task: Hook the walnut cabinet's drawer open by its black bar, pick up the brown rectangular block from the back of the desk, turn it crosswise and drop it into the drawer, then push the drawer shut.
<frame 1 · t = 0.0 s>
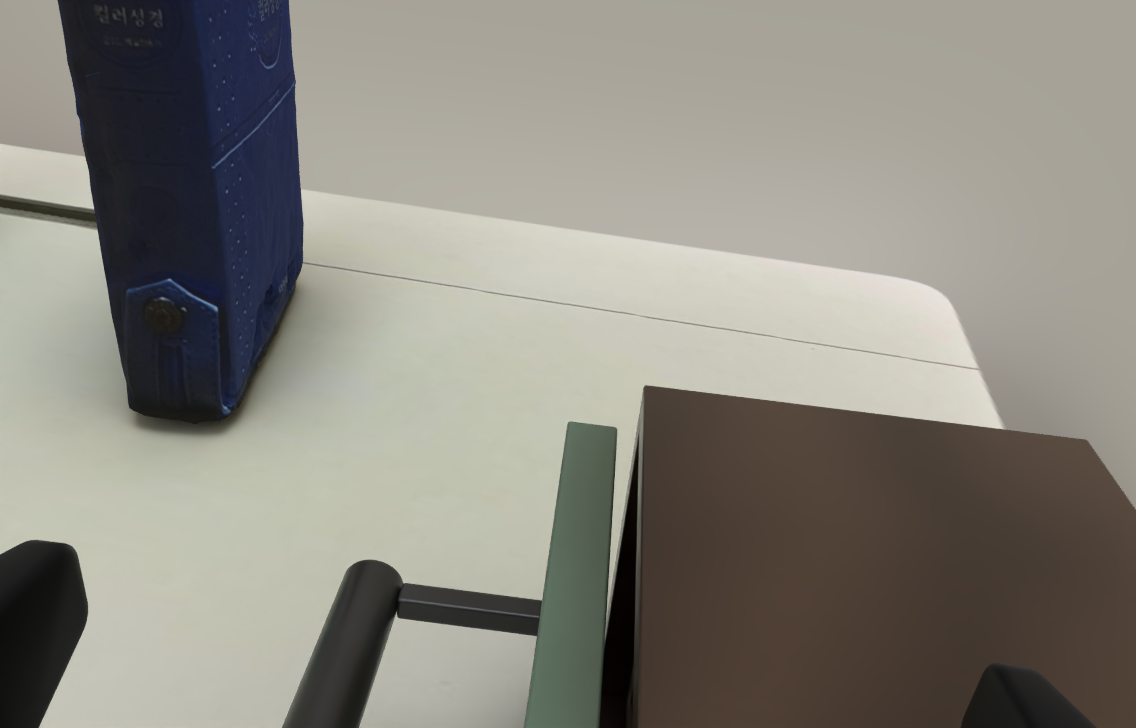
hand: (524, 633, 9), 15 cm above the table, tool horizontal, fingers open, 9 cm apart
blue zippered case: (224, 350, 43), on the table
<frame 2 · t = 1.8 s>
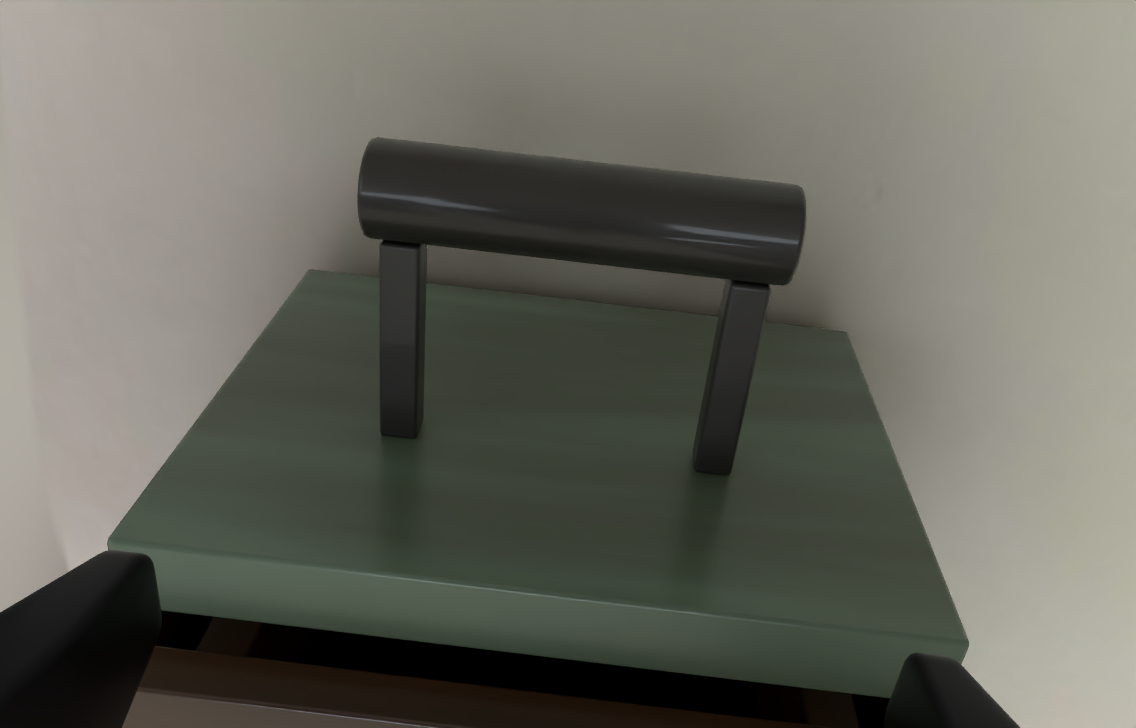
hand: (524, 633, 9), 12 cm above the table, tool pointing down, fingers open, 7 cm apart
drawer: (549, 520, 17), point 5 cm above the table, slide at 0.5 cm
cabinet: (552, 529, 24), on the table
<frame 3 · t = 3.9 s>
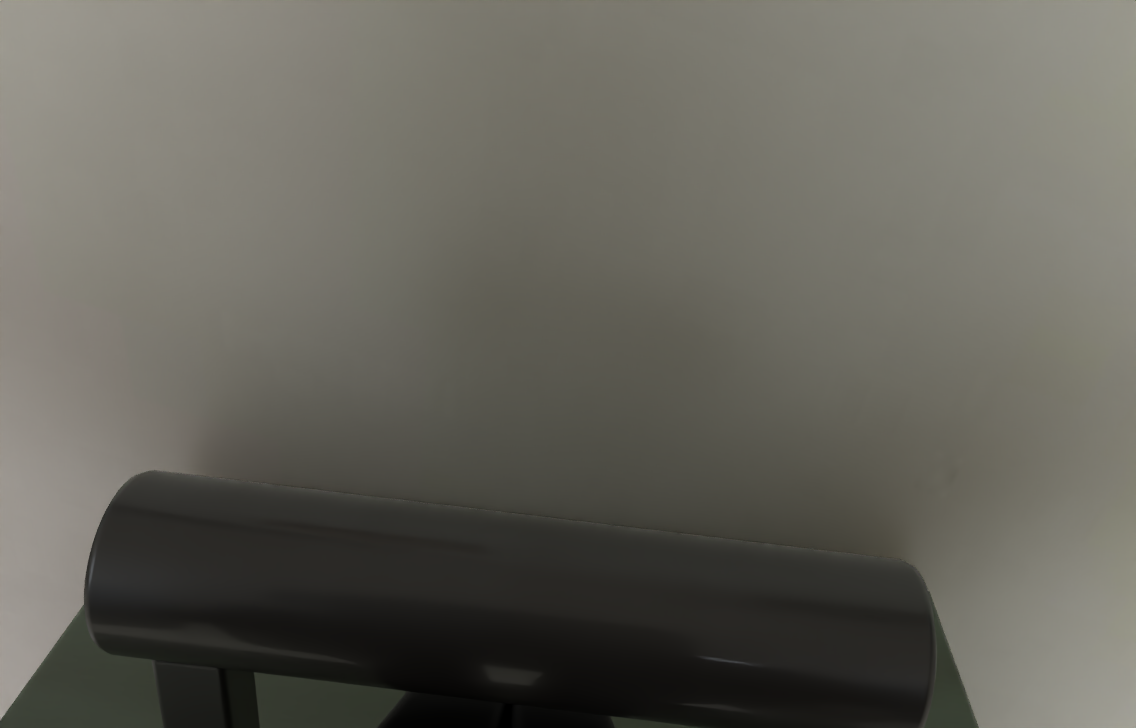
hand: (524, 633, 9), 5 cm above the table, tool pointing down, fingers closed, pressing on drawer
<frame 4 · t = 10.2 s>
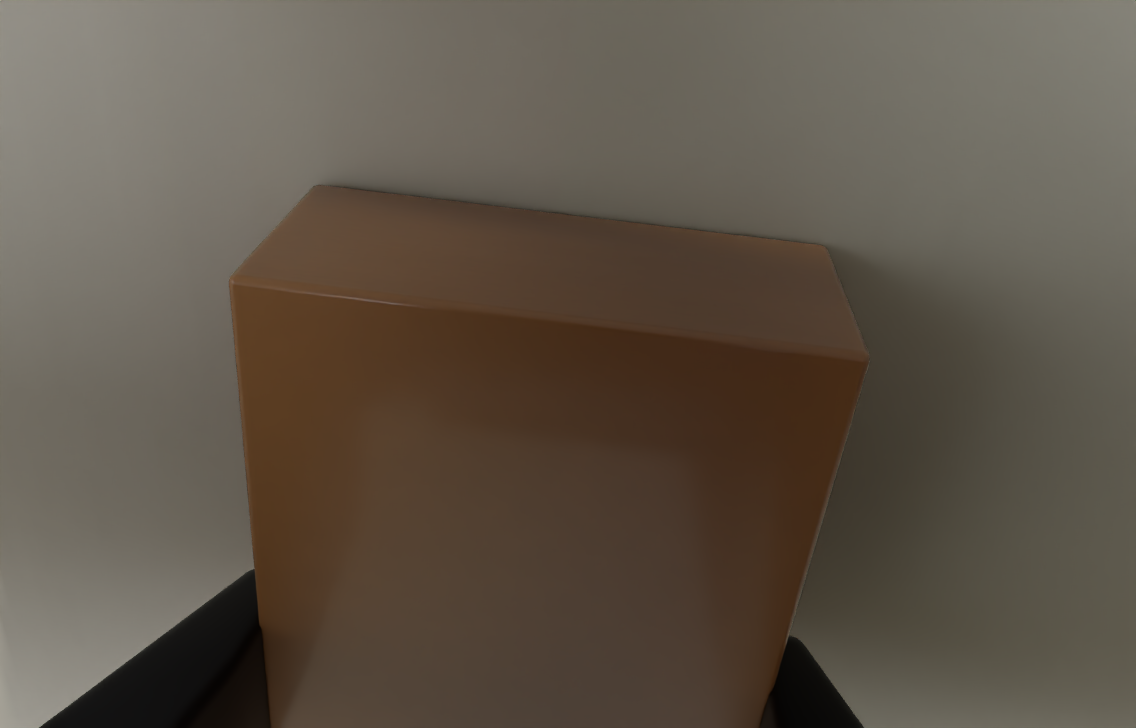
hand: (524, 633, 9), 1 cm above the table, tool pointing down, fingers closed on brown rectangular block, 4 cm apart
brown rectangular block: (533, 561, 10), on the table, touching gripper
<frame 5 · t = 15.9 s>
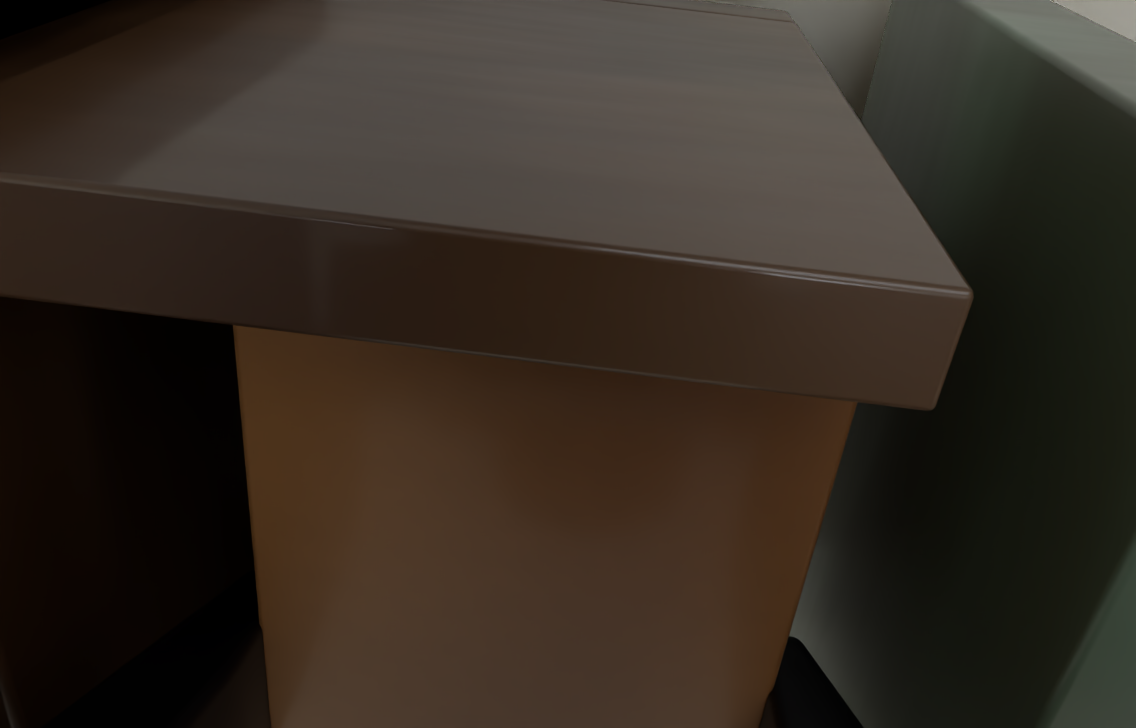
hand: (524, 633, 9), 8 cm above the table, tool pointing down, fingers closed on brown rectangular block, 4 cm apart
brown rectangular block: (533, 561, 10), point 7 cm above the table, touching gripper
drawer: (750, 516, 11), point 5 cm above the table, slide at 7.7 cm, touching gripper
cabinet: (22, 226, 16), on the table
when the fingers open (7 cm above the table, at t = 17.9 s): brown rectangular block drops 4 cm, resting on drawer.
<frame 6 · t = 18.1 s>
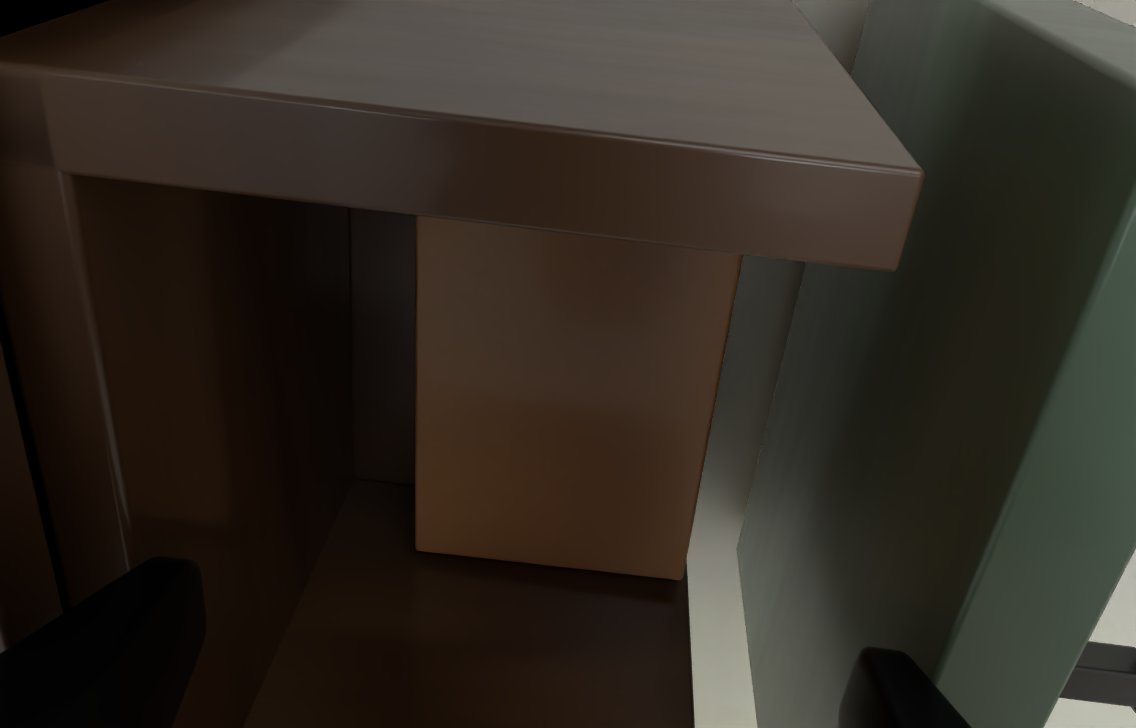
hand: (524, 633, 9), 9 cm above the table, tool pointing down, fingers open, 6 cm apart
brown rectangular block: (576, 299, 16), point 2 cm above the table, touching drawer
drawer: (750, 431, 13), point 5 cm above the table, slide at 8.1 cm, touching brown rectangular block
cabinet: (64, 190, 18), on the table
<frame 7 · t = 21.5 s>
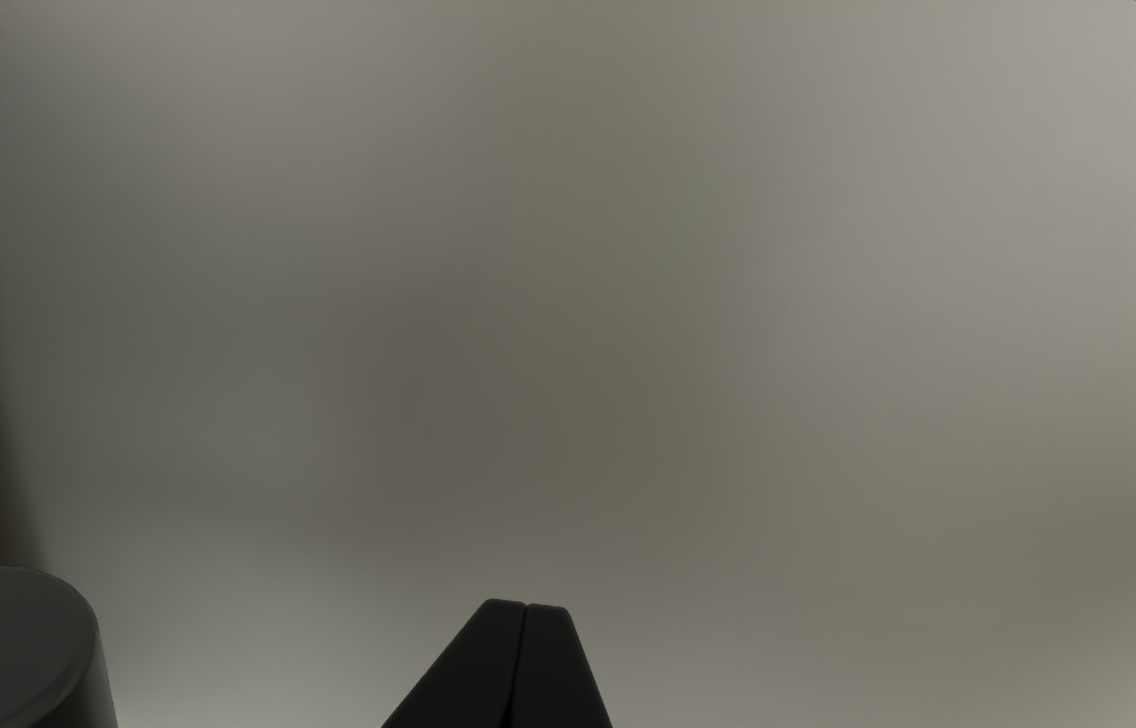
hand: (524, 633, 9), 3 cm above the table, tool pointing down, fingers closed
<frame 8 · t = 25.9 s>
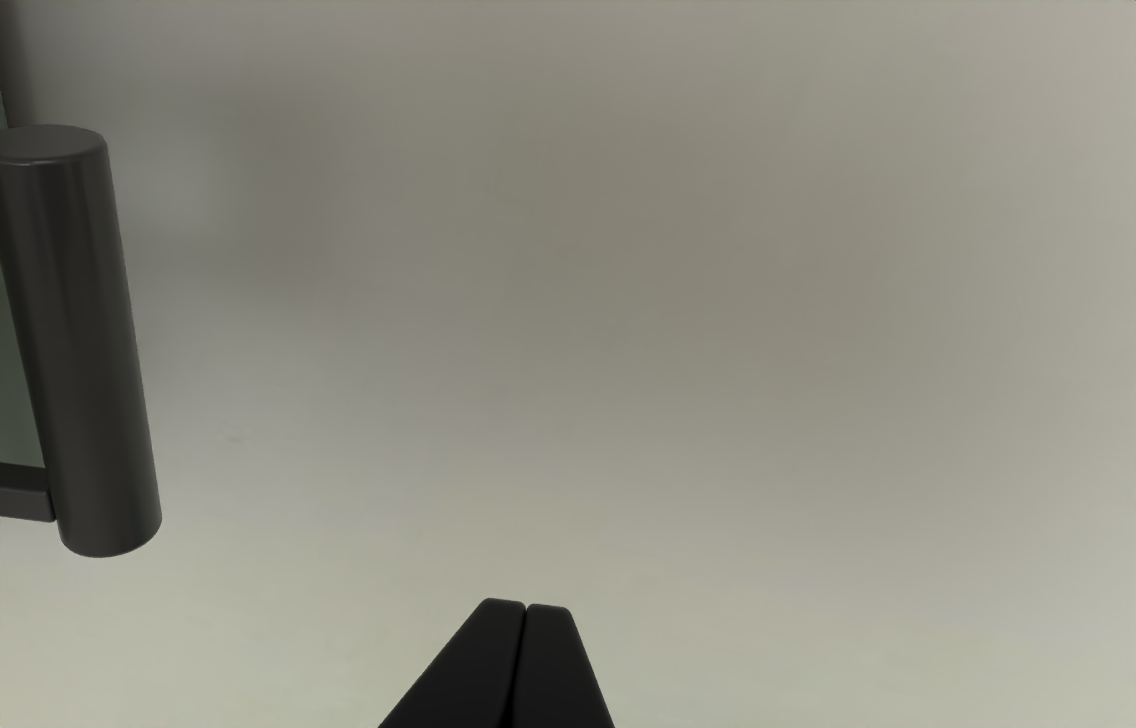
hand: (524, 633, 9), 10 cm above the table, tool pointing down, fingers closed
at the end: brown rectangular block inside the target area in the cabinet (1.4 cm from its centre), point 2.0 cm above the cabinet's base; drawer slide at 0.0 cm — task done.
